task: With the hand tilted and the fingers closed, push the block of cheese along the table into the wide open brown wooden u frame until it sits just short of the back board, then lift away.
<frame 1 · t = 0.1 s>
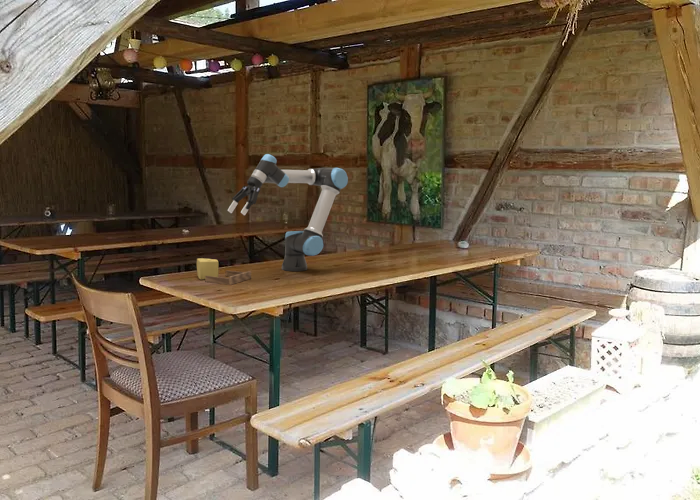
hand: (235, 213, 318), 36 cm above the table, tool tilted 35°, fingers open, 13 cm apart
cheese: (207, 278, 329), on the table
brown wooden u frame: (227, 280, 324), on the table
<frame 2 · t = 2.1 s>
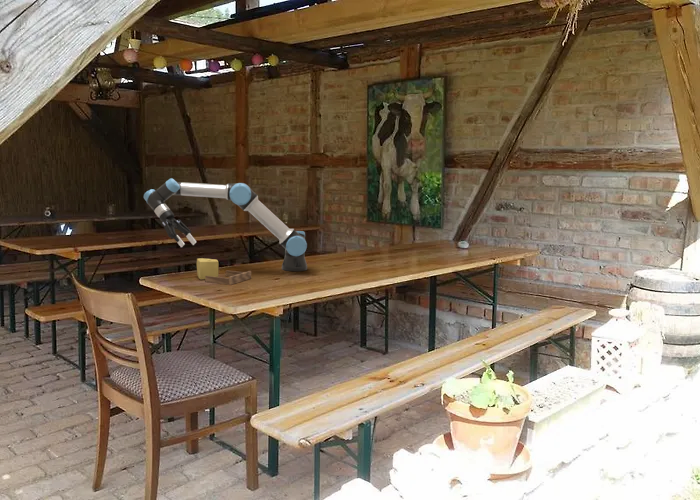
hand: (188, 244, 330), 17 cm above the table, tool tilted 45°, fingers open, 10 cm apart
nothing on the table moved.
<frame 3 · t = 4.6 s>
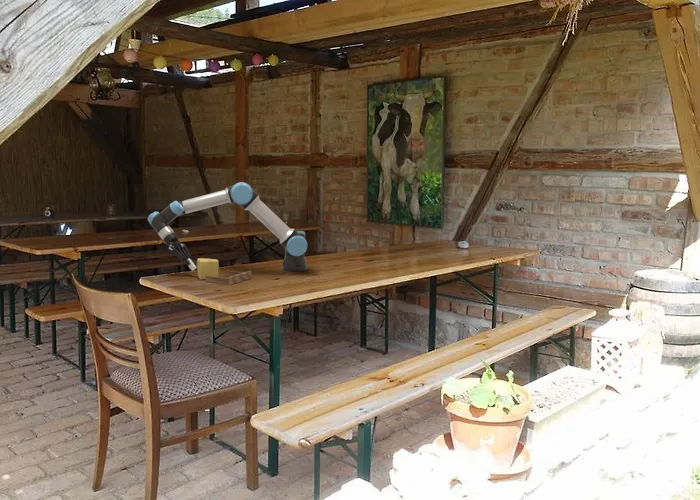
hand: (194, 269, 331), 4 cm above the table, tool tilted 45°, fingers closed
cheese: (207, 278, 329), on the table, touching gripper
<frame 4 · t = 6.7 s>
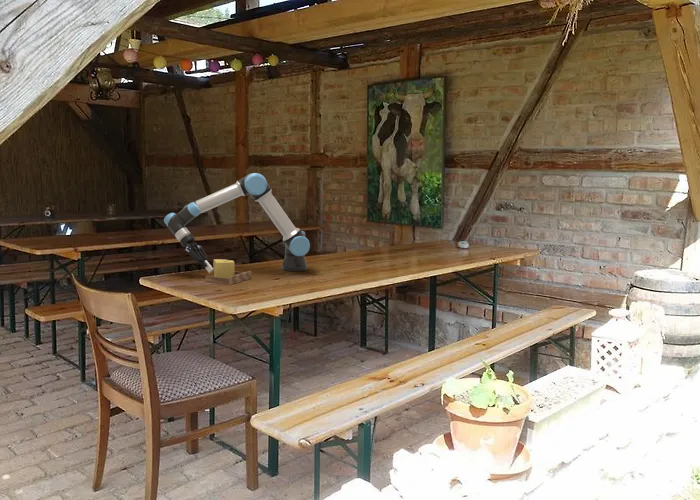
hand: (211, 271, 327), 4 cm above the table, tool tilted 45°, fingers closed
cheese: (224, 279, 327), on the table, touching gripper
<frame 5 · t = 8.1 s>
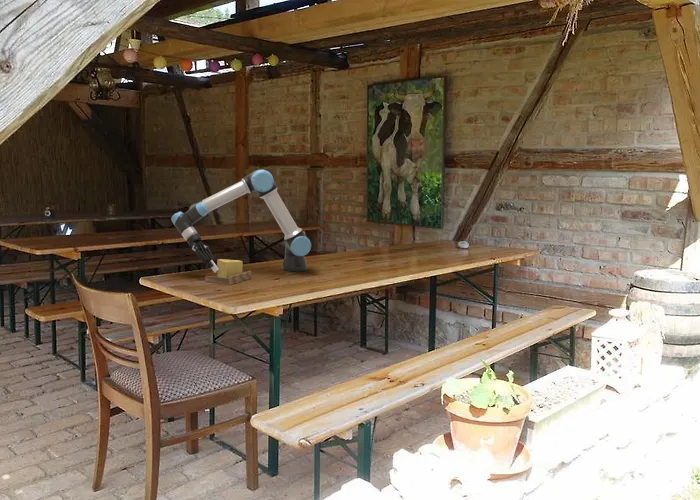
hand: (216, 271, 324), 5 cm above the table, tool tilted 45°, fingers closed
cheese: (229, 279, 326), on the table, touching brown wooden u frame, gripper
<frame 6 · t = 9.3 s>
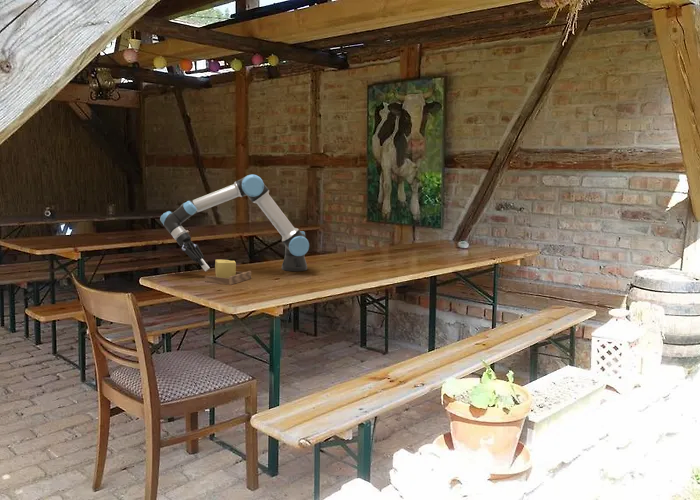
hand: (207, 269, 328), 5 cm above the table, tool tilted 45°, fingers closed
cheese: (225, 279, 327), on the table
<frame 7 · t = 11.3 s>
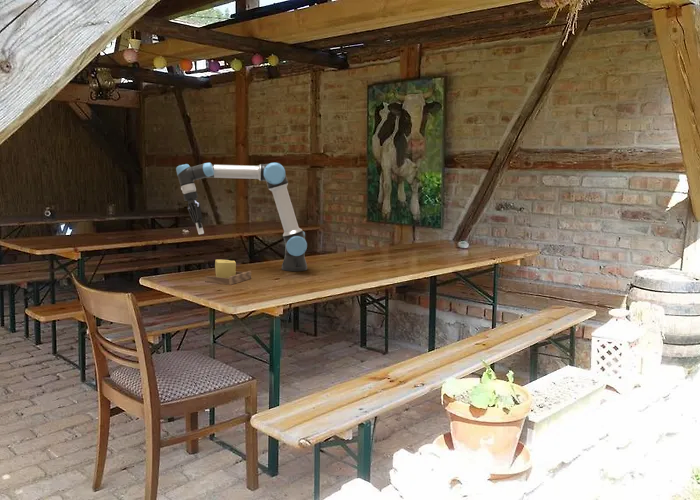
hand: (201, 234, 336), 22 cm above the table, tool tilted 20°, fingers closed
nothing on the table moved.
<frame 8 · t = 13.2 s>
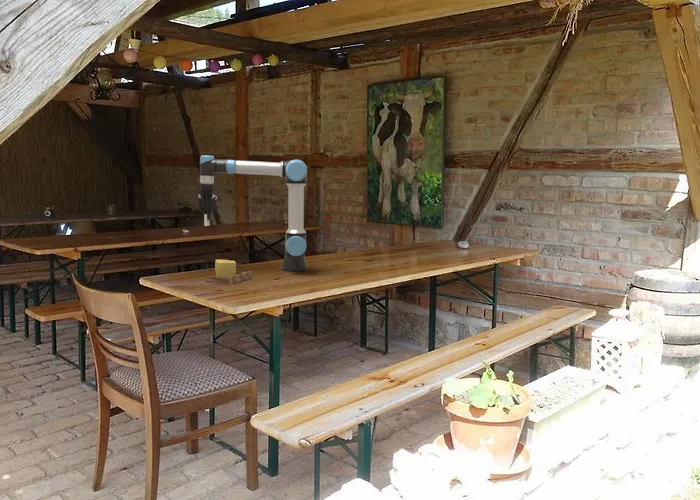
hand: (206, 225, 341), 26 cm above the table, tool pointing down, fingers closed
nothing on the table moved.
at the end: cheese inside the target area (3.8 cm from its centre), on the table; cheese tilted 0° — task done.
